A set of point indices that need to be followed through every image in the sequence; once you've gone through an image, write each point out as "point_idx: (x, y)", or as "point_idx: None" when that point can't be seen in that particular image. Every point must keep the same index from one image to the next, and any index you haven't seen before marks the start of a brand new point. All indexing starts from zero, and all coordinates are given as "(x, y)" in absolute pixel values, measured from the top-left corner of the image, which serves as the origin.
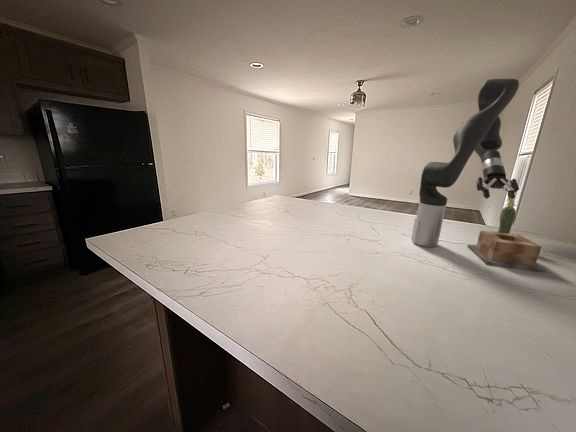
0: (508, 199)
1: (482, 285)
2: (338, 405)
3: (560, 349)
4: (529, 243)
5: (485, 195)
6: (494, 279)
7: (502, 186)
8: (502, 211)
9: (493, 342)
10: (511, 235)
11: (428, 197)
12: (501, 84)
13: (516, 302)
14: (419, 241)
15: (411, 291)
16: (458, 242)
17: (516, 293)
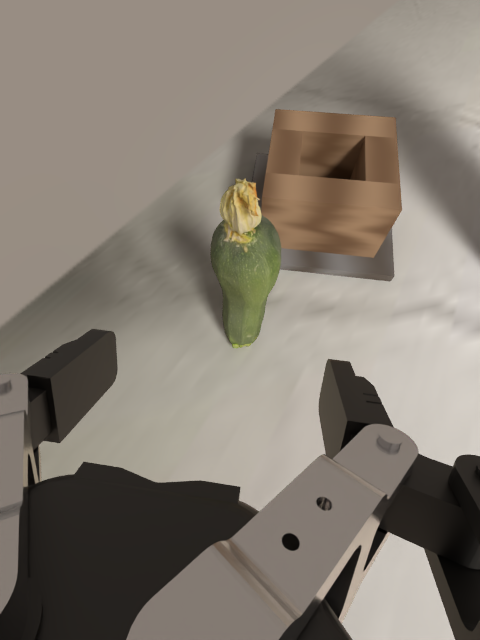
0: (253, 202)
1: (434, 92)
2: None
3: (396, 10)
4: (294, 123)
5: (365, 386)
6: (399, 114)
7: (75, 480)
8: (280, 247)
9: (467, 6)
10: (302, 180)
11: None
12: None
13: (397, 64)
14: None
15: None
16: (409, 321)
17: (382, 83)
